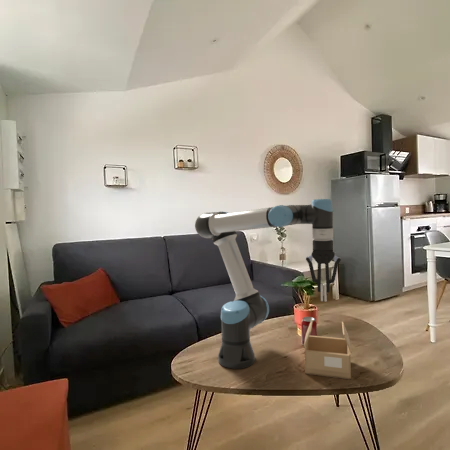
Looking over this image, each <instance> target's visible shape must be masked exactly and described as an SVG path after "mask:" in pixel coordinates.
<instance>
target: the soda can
mask: <svg viewBox="0 0 450 450" xmlns="http://www.w3.org/2000/svg"><path fill="white" fill-rule="evenodd" d="M311 319H312V320H313V321H312V328H311V333H310V335H311V336H318V332H317V330H318V328H317V327H318V325H317V321H316V319H315V317H314V316H313V317H312V316H304V317H302V320H301V322H300V328H301V329H300V330H301V331H300V332H301V336H300V338H301V345H303V346H304V342H305V336H306V333H307V330H308V327H309V325H310V322H311Z"/></svg>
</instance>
